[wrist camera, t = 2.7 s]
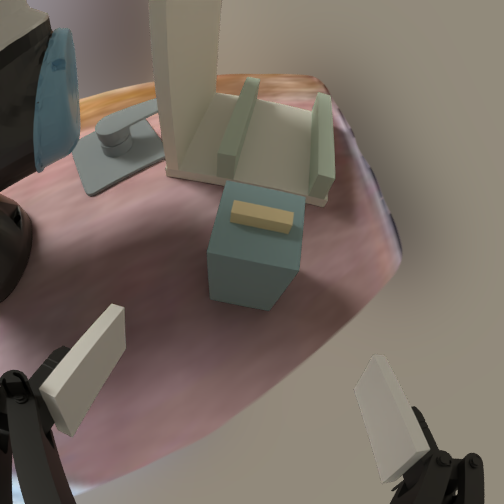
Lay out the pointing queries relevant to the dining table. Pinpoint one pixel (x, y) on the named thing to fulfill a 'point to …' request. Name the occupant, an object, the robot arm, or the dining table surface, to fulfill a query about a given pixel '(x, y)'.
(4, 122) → the robot arm
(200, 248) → the dining table surface
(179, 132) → the pale green rail stand
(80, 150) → the shower valve
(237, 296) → the teal block with bar
